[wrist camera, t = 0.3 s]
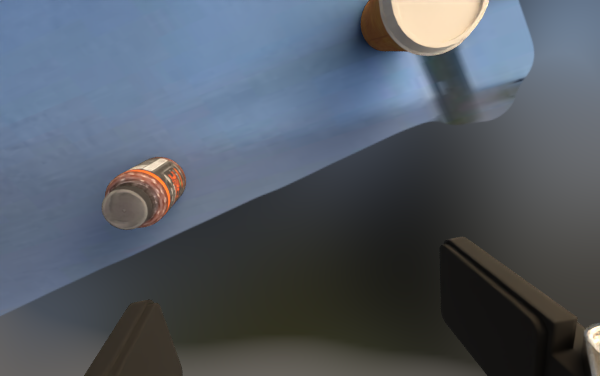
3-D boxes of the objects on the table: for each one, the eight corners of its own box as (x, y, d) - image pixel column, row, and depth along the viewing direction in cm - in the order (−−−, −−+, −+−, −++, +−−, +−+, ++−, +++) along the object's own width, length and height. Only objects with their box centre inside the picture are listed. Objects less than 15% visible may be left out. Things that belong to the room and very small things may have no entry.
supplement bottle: (192, 196, 40) (166, 234, 29) (146, 205, 40) (102, 246, 29) (180, 151, 38) (147, 174, 28) (131, 160, 38) (78, 186, 27)
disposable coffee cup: (418, -35, 35) (491, -97, 24) (430, 52, 38) (501, 35, 27) (338, -11, 35) (373, -61, 24) (357, 75, 38) (396, 68, 27)
